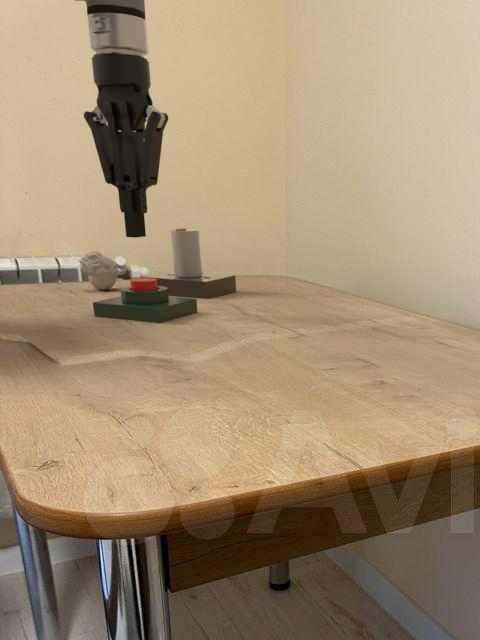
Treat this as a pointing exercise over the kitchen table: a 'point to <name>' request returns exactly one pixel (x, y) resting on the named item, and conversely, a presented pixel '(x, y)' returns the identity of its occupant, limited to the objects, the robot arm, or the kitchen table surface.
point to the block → (145, 306)
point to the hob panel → (196, 284)
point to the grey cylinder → (186, 252)
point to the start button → (144, 284)
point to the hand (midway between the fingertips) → (136, 236)
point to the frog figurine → (99, 270)
